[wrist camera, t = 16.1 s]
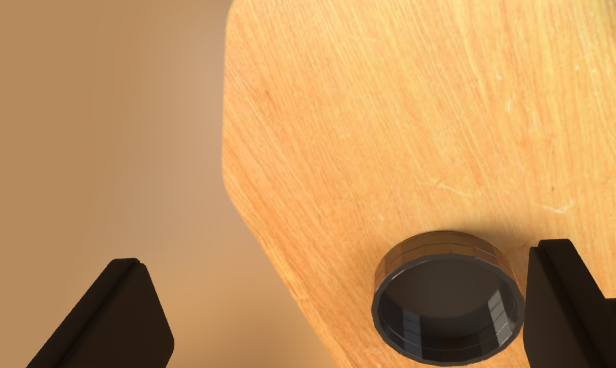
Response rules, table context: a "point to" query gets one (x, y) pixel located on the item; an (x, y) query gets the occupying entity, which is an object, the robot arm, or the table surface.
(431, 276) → the pan
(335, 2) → the table surface
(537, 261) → the robot arm
